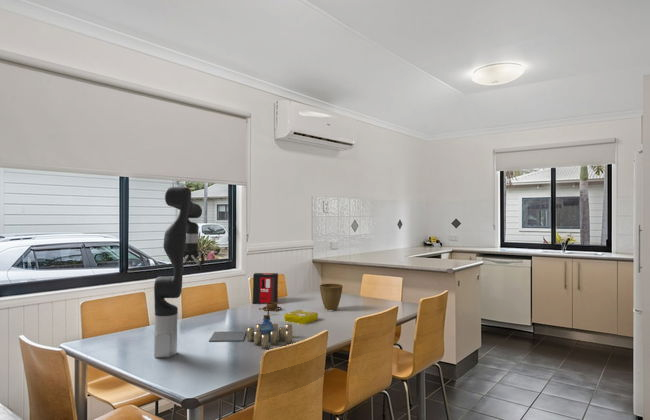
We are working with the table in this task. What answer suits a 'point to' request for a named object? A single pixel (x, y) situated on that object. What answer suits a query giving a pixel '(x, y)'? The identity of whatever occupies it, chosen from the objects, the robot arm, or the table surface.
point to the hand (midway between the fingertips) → (190, 272)
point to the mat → (228, 336)
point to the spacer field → (273, 335)
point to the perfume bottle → (266, 326)
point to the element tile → (301, 316)
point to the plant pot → (331, 295)
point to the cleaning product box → (265, 288)
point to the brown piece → (271, 307)
